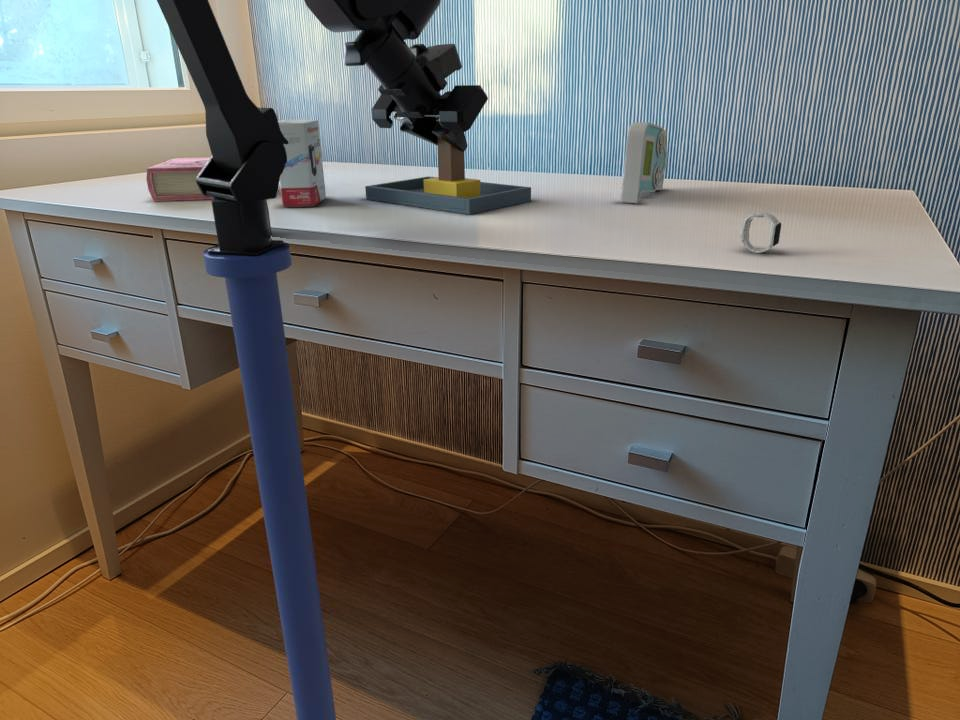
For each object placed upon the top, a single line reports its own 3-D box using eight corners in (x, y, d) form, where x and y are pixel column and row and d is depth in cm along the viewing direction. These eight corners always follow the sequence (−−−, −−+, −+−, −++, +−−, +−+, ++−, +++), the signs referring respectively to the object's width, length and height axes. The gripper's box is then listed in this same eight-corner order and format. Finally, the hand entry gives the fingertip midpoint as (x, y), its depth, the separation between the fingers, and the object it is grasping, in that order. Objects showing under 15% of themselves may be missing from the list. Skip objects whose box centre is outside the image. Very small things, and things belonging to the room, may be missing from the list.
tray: (531, 200, 102) (531, 187, 101) (469, 214, 92) (469, 199, 92) (428, 188, 115) (428, 176, 114) (366, 199, 106) (365, 186, 105)
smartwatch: (735, 251, 71) (741, 212, 69) (742, 247, 72) (748, 209, 71) (771, 256, 69) (778, 216, 67) (778, 252, 70) (784, 212, 69)
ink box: (314, 207, 100) (305, 121, 95) (281, 207, 100) (270, 122, 95) (327, 197, 108) (319, 118, 103) (296, 198, 108) (287, 118, 103)
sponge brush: (456, 201, 99) (454, 104, 94) (424, 196, 103) (420, 104, 98) (480, 196, 102) (479, 103, 97) (447, 192, 106) (445, 103, 102)
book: (175, 187, 121) (169, 158, 119) (263, 185, 122) (259, 156, 120) (147, 201, 107) (141, 168, 105) (247, 198, 109) (242, 165, 107)
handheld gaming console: (664, 202, 110) (638, 204, 97) (646, 201, 111) (619, 202, 99) (672, 129, 107) (647, 121, 94) (654, 129, 108) (627, 120, 96)
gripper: (476, 15, 85) (532, 106, 97) (381, 24, 97) (441, 105, 109) (432, 84, 83) (494, 169, 94) (341, 85, 95) (406, 161, 106)
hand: (458, 148), depth 101 cm, fingers closed on sponge brush, 3 cm apart
